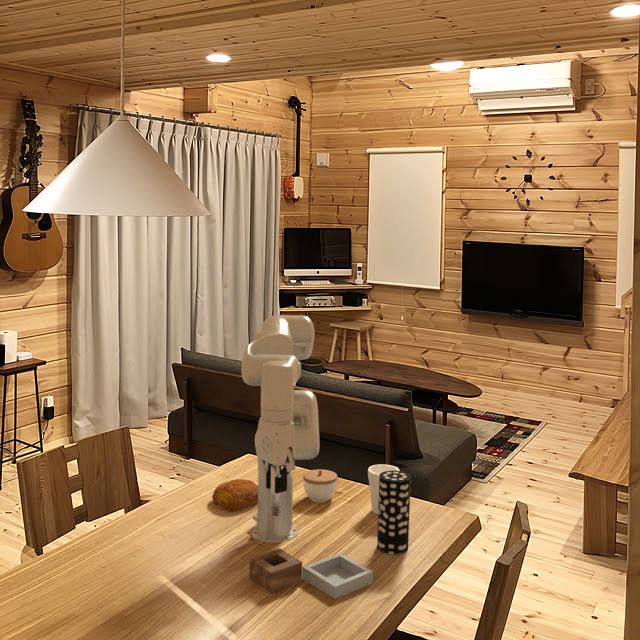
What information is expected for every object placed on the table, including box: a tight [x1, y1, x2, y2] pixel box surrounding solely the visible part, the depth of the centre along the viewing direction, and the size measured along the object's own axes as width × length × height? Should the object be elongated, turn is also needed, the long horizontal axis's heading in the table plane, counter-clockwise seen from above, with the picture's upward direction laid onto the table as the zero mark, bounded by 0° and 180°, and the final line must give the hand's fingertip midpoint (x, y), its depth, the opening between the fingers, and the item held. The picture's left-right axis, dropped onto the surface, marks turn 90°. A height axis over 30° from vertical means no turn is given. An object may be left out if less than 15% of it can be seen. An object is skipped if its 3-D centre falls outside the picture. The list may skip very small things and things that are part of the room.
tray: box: [302, 552, 374, 600], centre depth 172 cm, size 12×12×4 cm
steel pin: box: [270, 465, 283, 516], centre depth 169 cm, size 3×3×12 cm
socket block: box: [249, 547, 303, 595], centre depth 172 cm, size 9×9×6 cm
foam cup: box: [367, 464, 401, 515], centre depth 216 cm, size 10×9×13 cm
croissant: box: [211, 478, 258, 512], centre depth 222 cm, size 14×16×8 cm
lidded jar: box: [302, 468, 338, 503], centre depth 225 cm, size 11×11×9 cm
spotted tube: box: [376, 470, 412, 555], centre depth 191 cm, size 8×8×20 cm
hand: (276, 488), depth 169 cm, fingers closed on steel pin, 2 cm apart
